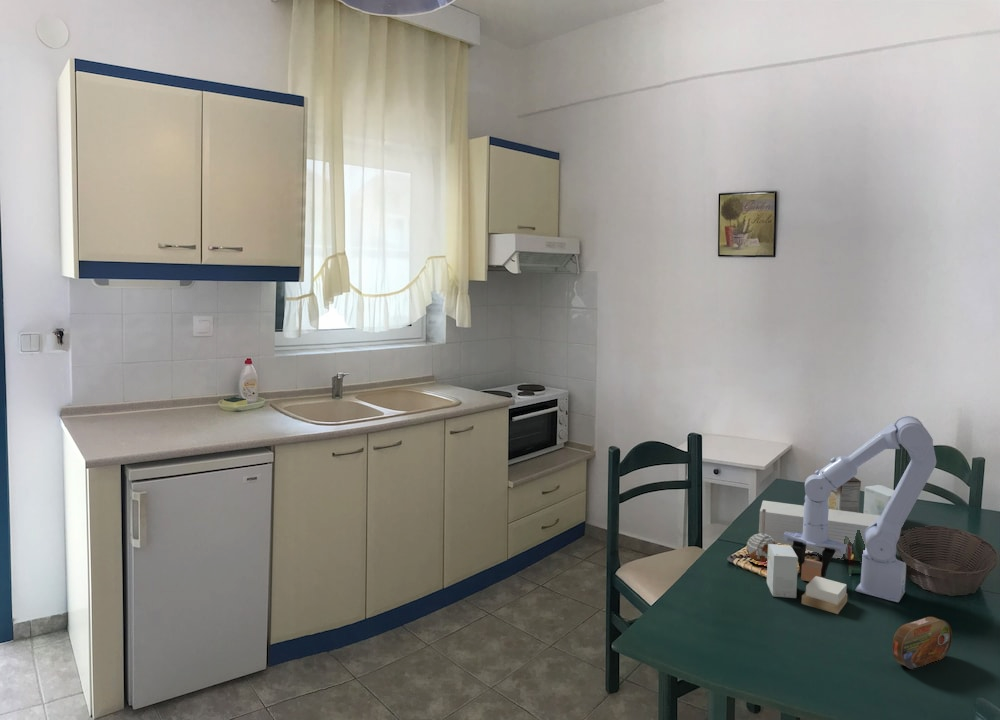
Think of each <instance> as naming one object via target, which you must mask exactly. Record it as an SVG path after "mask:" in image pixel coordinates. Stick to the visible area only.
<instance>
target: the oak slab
mask: <svg viewBox="0 0 1000 720" xmlns="http://www.w3.org/2000/svg"><path fill="white" fill-rule="evenodd" d="M847 602H848V593H846V595H845V596H844V597H843V599H842V600H841V601H840V602H839V603H838V604H837V605H836V604H833V603H829V602H826V601H822V600H819V599H816V598H812V597H809V596H806V591H805V592H804V593H803V594H802V595H801V604H802V605H805V606H808V607H813V608H816V609H819V610H822V611H825V612H829V613H833V614H835V615H839V614H840V612H841V610H842V609H843V608H844V606H845V605H846V604H847Z"/></svg>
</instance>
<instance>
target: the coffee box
mask: <svg viewBox="0 0 1000 720" xmlns="http://www.w3.org/2000/svg"><path fill="white" fill-rule="evenodd" d="M861 485H862V481H861V480H860V479H858V478H856V476H854V477H853V478H851V479H850V480H848V481H847V482H846V483H844V484H843V485H841V486H840V487H839V488H837V489H836V490H832V491H831V495H830V497H829V498H828V506H829V509H833V510H841V511H849V512H857V513H860V502H861V501H860V499H861Z"/></svg>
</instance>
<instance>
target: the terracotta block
mask: <svg viewBox="0 0 1000 720" xmlns="http://www.w3.org/2000/svg"><path fill="white" fill-rule="evenodd" d="M821 572H822V561H818V560H813V559H808V558H805V561H804V562H803V564H802V571H801V572H800V574H801V575H800V576H801V577H800V580H802V581H806V582H808V583H809V582H810V581H811V580H812V579H813V578H814V577H815V576H818V577H821ZM821 578H825V577H821Z"/></svg>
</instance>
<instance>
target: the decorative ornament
mask: <svg viewBox="0 0 1000 720" xmlns="http://www.w3.org/2000/svg"><path fill="white" fill-rule="evenodd" d="M765 512H766V509H763V510H762V531H761V533H760V534H759V533H756V534H753V535H751V536H750V537H749V538H748V540H747V542H746V552H747V554H748V556H750V558H752V559H754V560H756V561H762V562H766V561H767V560H768V544H776V541H775V540H774V539H773V538H772V537H771V536H769V535H767V534H764V533H765Z"/></svg>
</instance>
